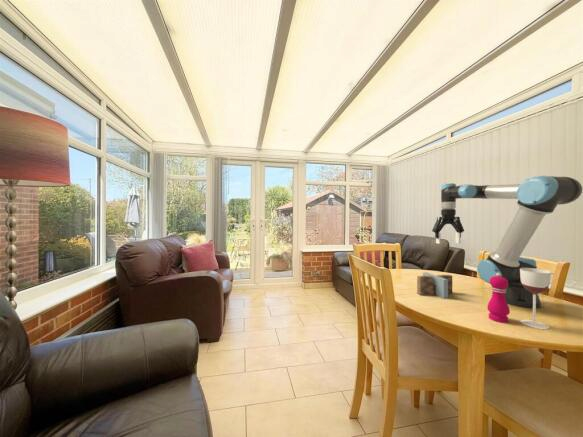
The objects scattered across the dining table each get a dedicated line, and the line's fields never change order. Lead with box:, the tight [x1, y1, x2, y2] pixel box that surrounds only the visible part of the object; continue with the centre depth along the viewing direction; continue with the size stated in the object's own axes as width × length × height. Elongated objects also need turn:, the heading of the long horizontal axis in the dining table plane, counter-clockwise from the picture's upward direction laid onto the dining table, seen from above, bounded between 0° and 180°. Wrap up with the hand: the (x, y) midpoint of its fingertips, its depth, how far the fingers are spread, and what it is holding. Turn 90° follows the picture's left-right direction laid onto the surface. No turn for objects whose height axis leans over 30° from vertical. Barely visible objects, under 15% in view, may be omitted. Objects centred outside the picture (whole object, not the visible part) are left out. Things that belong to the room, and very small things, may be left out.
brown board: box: [416, 274, 453, 296], centre depth 135 cm, size 20×2×10 cm, turn 99°
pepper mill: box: [486, 273, 511, 324], centre depth 102 cm, size 7×7×20 cm
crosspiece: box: [422, 271, 449, 299], centre depth 135 cm, size 16×2×10 cm, turn 9°
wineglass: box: [519, 268, 552, 330], centre depth 97 cm, size 9×10×22 cm
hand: (448, 243), depth 148 cm, fingers open, 13 cm apart
